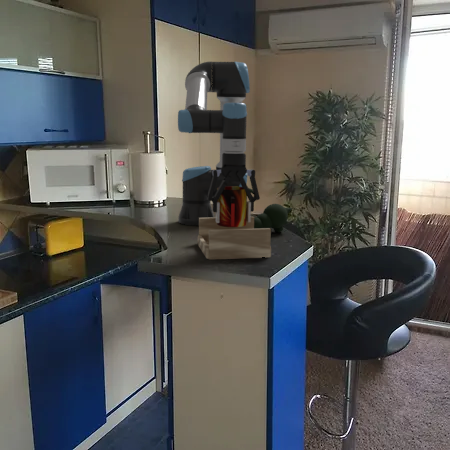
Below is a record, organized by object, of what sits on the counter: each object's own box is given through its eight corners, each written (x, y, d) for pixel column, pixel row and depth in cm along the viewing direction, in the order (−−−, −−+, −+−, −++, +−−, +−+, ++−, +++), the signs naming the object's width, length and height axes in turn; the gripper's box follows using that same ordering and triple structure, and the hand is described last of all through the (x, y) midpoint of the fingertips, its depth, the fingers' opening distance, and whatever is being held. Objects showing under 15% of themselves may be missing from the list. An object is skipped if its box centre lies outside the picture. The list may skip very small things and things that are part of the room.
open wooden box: (197, 243, 182) (197, 217, 180) (254, 241, 186) (255, 216, 184) (207, 259, 160) (207, 230, 159) (271, 257, 164) (272, 228, 163)
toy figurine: (243, 243, 191) (299, 231, 202) (240, 191, 187) (297, 182, 198) (231, 238, 199) (285, 227, 210) (227, 188, 195) (283, 180, 206)
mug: (231, 230, 163) (232, 192, 161) (212, 223, 176) (212, 187, 173) (258, 227, 168) (259, 190, 166) (237, 220, 180) (237, 185, 178)
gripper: (201, 153, 162) (200, 224, 166) (271, 153, 166) (269, 223, 170) (197, 151, 169) (197, 220, 173) (264, 152, 173) (263, 219, 177)
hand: (233, 221), depth 171 cm, fingers closed on mug, 10 cm apart
